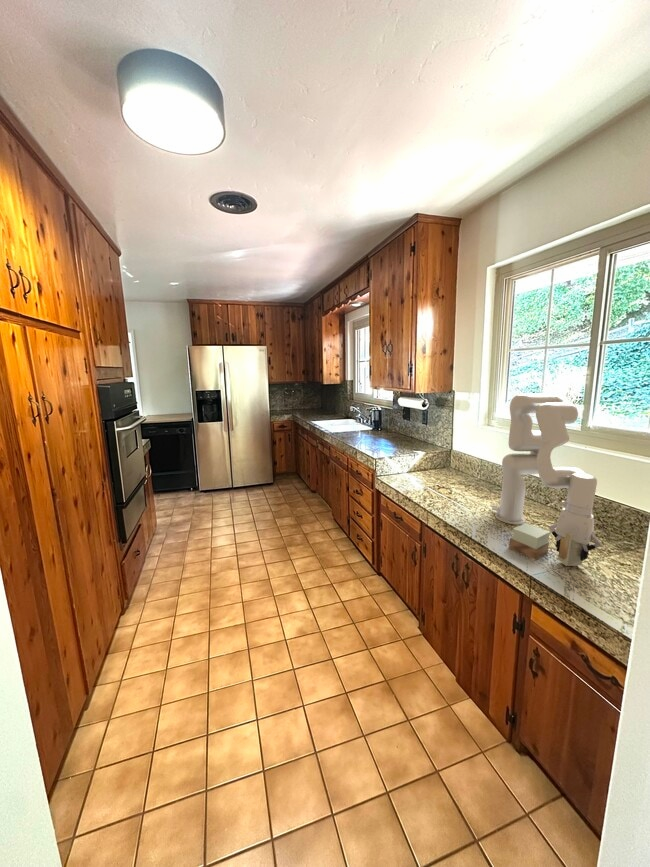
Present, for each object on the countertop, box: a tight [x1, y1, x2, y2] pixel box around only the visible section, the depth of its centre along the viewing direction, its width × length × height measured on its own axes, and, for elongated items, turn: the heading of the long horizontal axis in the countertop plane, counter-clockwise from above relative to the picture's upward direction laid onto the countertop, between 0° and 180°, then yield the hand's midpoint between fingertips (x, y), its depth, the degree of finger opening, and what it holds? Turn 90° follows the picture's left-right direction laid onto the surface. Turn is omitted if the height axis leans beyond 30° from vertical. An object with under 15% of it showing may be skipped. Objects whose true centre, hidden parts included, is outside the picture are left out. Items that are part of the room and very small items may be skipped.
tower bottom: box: [508, 537, 550, 561], centre depth 134 cm, size 10×10×4 cm
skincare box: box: [557, 533, 584, 567], centre depth 123 cm, size 6×4×12 cm
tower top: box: [511, 522, 551, 549], centre depth 133 cm, size 9×9×4 cm
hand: (570, 554), depth 124 cm, fingers closed on skincare box, 6 cm apart
